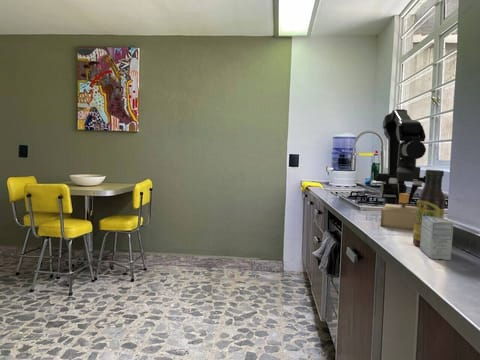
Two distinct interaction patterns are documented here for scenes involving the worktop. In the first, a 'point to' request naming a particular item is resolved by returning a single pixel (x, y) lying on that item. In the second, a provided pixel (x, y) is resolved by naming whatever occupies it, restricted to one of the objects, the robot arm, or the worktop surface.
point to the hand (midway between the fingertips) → (403, 203)
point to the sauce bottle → (429, 201)
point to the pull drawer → (402, 199)
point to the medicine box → (436, 237)
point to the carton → (398, 217)
